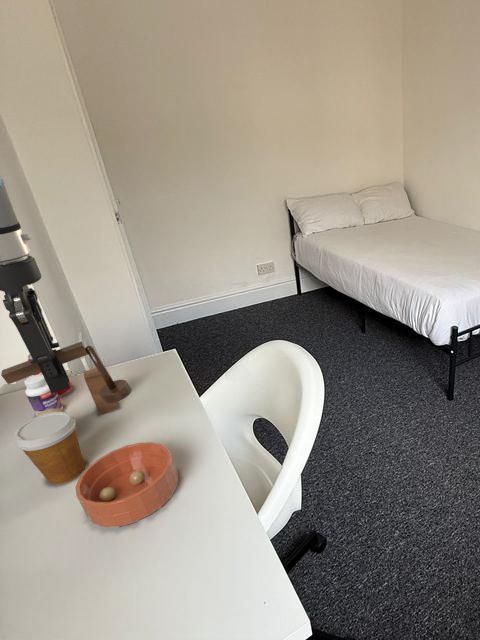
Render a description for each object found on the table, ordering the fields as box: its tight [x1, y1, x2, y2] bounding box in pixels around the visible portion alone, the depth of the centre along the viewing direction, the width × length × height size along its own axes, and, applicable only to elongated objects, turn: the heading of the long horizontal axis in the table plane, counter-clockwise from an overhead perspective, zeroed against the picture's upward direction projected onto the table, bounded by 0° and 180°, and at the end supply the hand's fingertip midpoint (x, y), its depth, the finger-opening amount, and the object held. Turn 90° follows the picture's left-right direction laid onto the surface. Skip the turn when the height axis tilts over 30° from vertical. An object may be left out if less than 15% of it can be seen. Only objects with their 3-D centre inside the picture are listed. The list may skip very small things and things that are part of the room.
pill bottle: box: [23, 375, 64, 417], centre depth 100 cm, size 5×5×10 cm
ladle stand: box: [82, 367, 119, 415], centre depth 101 cm, size 4×4×10 cm
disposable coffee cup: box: [13, 411, 86, 485], centre depth 81 cm, size 10×10×12 cm
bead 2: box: [129, 470, 145, 485], centre depth 80 cm, size 3×3×3 cm
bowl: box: [75, 442, 179, 528], centre depth 77 cm, size 15×15×6 cm
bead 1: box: [99, 487, 116, 502], centre depth 76 cm, size 3×3×3 cm
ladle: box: [0, 340, 132, 404], centre depth 76 cm, size 15×5×12 cm, turn 126°
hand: (60, 386), depth 75 cm, fingers closed on ladle, 2 cm apart
